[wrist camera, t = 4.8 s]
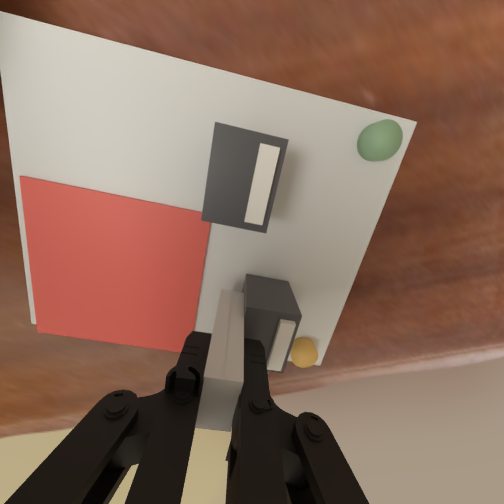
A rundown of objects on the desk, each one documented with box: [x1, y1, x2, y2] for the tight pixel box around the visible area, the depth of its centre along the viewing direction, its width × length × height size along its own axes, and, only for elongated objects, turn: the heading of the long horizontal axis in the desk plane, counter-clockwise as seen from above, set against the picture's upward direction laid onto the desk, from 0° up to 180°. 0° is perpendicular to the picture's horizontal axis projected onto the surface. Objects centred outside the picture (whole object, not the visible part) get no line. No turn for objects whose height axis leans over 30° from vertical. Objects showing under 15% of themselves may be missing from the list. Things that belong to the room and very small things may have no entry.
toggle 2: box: [242, 274, 302, 373], centre depth 14 cm, size 3×4×4 cm
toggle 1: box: [201, 122, 289, 233], centre depth 12 cm, size 3×4×4 cm
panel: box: [0, 11, 417, 368], centre depth 15 cm, size 22×18×3 cm
